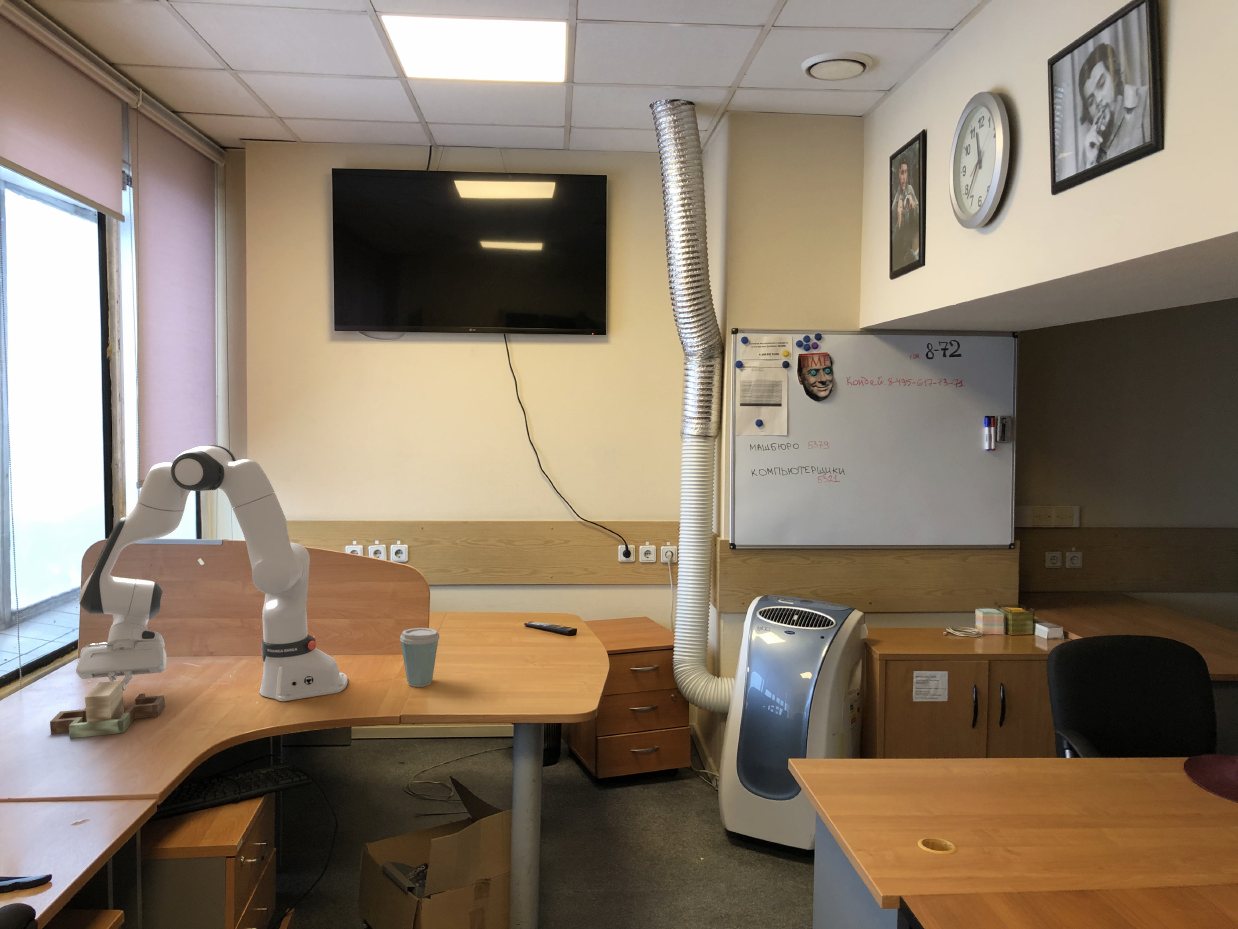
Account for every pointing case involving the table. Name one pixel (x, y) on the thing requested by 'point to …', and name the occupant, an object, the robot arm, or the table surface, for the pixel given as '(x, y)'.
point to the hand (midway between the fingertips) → (117, 690)
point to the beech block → (105, 702)
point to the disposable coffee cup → (419, 655)
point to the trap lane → (80, 727)
